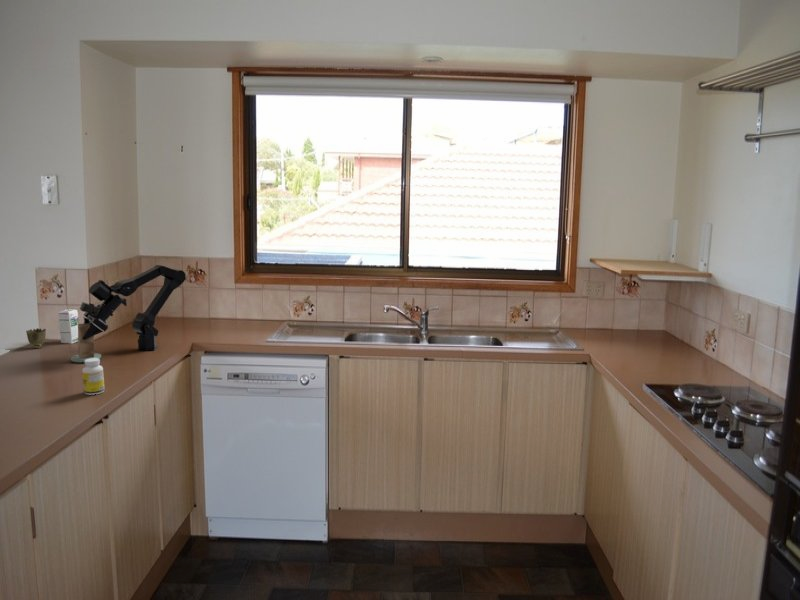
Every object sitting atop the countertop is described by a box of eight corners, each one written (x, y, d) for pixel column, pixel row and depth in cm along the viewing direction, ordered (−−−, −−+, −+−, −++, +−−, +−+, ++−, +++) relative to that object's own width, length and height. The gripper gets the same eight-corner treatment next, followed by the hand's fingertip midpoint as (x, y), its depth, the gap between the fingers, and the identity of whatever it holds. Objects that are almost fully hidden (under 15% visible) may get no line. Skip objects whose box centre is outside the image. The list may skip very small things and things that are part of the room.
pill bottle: (88, 389, 231) (85, 357, 229) (107, 389, 232) (105, 357, 230) (81, 395, 225) (78, 362, 223) (100, 395, 225) (98, 362, 223)
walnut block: (91, 354, 273) (91, 323, 271) (94, 356, 269) (93, 325, 267) (78, 355, 270) (77, 323, 268) (80, 358, 266) (80, 326, 264)
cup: (51, 346, 290) (49, 328, 289) (37, 350, 284) (35, 332, 282) (38, 345, 293) (36, 327, 291) (23, 349, 286) (22, 330, 285)
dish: (105, 356, 275) (104, 352, 275) (95, 363, 265) (95, 359, 264) (77, 356, 274) (77, 353, 274) (67, 363, 264) (66, 360, 263)
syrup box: (72, 343, 296) (69, 311, 293) (60, 343, 297) (57, 311, 294) (80, 340, 301) (78, 309, 299) (69, 340, 302) (66, 308, 300)
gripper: (87, 291, 275) (59, 321, 270) (97, 298, 260) (68, 329, 255) (108, 308, 281) (82, 337, 276) (119, 315, 266) (92, 346, 261)
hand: (80, 337), depth 267 cm, fingers open, 8 cm apart
